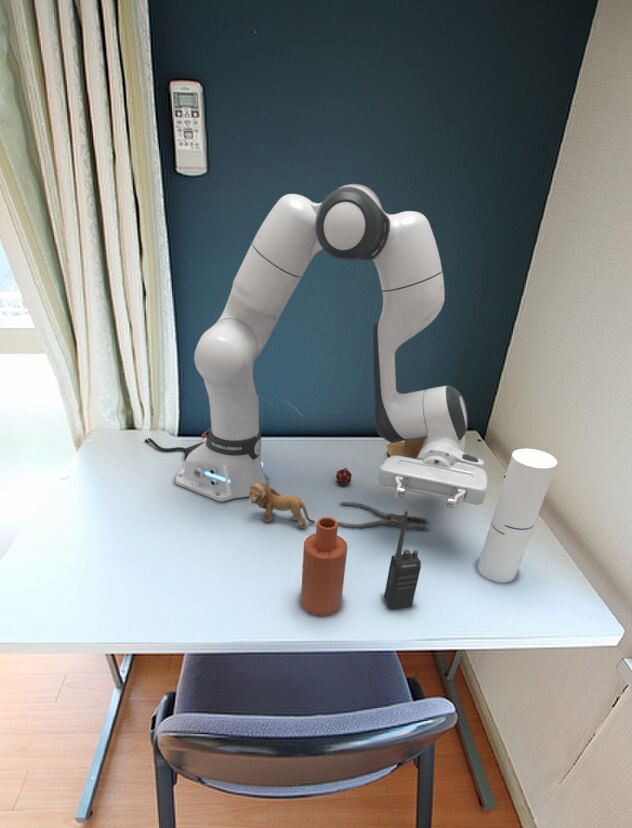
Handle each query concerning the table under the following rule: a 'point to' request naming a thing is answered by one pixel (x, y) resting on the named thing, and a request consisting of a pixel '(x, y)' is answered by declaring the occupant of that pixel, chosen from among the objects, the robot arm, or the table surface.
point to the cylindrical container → (516, 513)
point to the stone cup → (406, 447)
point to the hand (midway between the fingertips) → (425, 499)
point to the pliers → (392, 520)
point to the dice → (343, 476)
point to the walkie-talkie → (402, 574)
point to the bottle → (323, 569)
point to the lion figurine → (277, 502)
